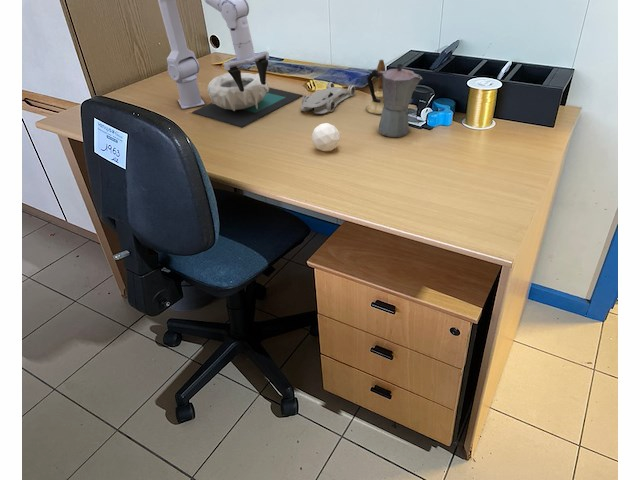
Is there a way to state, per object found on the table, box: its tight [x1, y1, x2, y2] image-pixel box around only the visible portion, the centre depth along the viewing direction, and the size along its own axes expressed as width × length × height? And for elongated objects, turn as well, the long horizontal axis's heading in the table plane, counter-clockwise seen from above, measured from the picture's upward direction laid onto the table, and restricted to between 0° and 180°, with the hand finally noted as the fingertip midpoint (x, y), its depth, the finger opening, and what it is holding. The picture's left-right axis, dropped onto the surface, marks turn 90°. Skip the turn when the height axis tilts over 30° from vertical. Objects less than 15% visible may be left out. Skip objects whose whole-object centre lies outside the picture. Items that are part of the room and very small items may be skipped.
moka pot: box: [366, 63, 423, 138], centre depth 138 cm, size 10×15×20 cm, turn 78°
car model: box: [300, 81, 356, 115], centre depth 163 cm, size 11×24×5 cm, turn 148°
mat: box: [191, 87, 304, 128], centre depth 168 cm, size 31×24×1 cm
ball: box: [311, 122, 341, 152], centre depth 135 cm, size 8×8×8 cm
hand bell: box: [366, 59, 386, 115], centre depth 153 cm, size 8×8×16 cm
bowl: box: [206, 72, 270, 111], centre depth 162 cm, size 21×20×10 cm
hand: (252, 87), depth 151 cm, fingers open, 7 cm apart
